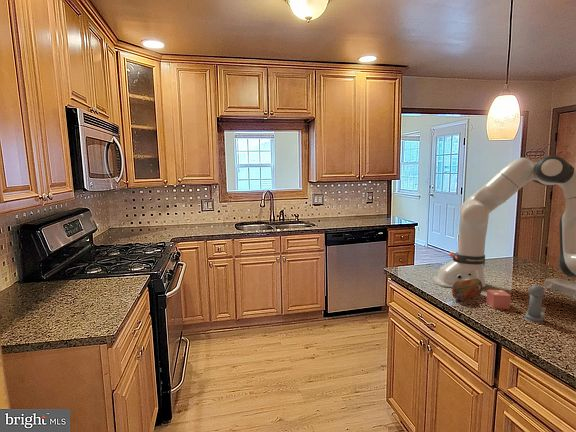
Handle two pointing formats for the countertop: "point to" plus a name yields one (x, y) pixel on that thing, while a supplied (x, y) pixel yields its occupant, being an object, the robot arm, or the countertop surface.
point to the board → (541, 313)
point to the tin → (466, 289)
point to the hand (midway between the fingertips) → (560, 293)
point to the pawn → (535, 304)
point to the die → (498, 299)
